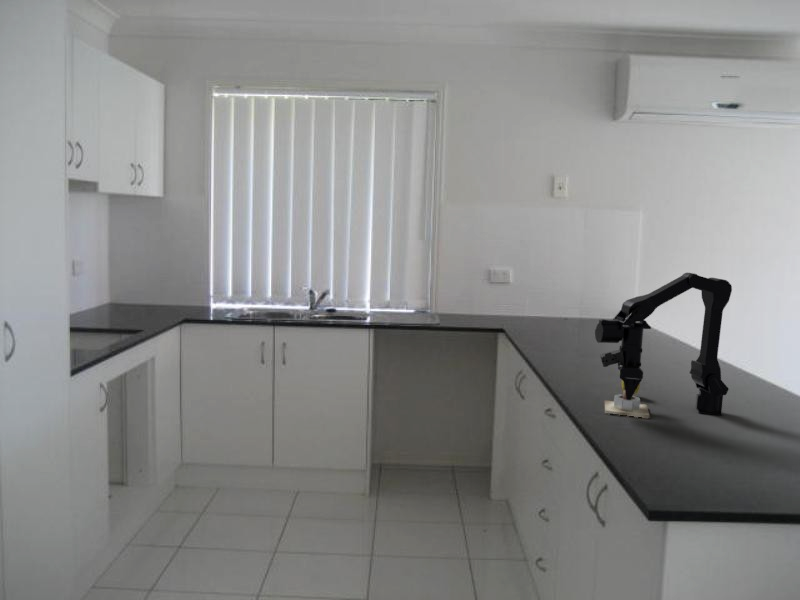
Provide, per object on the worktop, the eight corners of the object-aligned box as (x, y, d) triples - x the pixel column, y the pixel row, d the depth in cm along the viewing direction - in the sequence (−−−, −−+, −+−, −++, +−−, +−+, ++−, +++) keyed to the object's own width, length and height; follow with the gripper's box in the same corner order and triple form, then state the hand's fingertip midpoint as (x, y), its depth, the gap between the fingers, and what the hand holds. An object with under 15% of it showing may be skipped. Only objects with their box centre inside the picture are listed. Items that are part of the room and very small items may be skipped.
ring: (638, 405, 214) (638, 395, 213) (639, 411, 207) (640, 401, 207) (613, 403, 215) (614, 393, 215) (614, 409, 209) (615, 399, 208)
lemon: (627, 398, 226) (629, 373, 225) (617, 394, 231) (619, 369, 230) (642, 398, 227) (644, 373, 226) (632, 393, 232) (634, 369, 231)
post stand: (646, 407, 216) (647, 388, 215) (649, 418, 204) (651, 398, 203) (604, 403, 218) (606, 384, 218) (605, 413, 207) (606, 393, 206)
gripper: (602, 336, 220) (598, 386, 222) (603, 346, 202) (599, 400, 204) (640, 339, 217) (636, 389, 219) (645, 350, 199) (640, 405, 201)
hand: (627, 395), depth 211 cm, fingers open, 9 cm apart
